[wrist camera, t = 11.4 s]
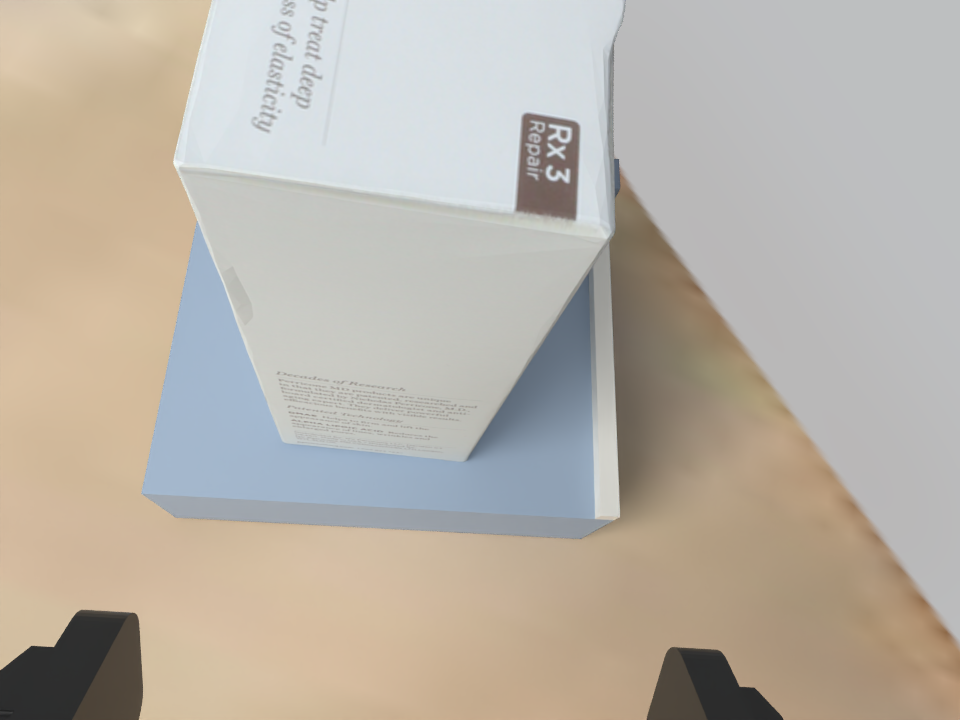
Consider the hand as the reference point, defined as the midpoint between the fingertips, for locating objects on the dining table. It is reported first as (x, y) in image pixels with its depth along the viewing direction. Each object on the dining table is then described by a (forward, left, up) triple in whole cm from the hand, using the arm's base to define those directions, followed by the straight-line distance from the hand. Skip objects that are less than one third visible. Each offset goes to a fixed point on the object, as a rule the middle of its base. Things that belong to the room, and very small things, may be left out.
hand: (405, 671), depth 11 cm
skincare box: (+1, -10, -10) cm, 14 cm away
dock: (+1, -10, -14) cm, 17 cm away
